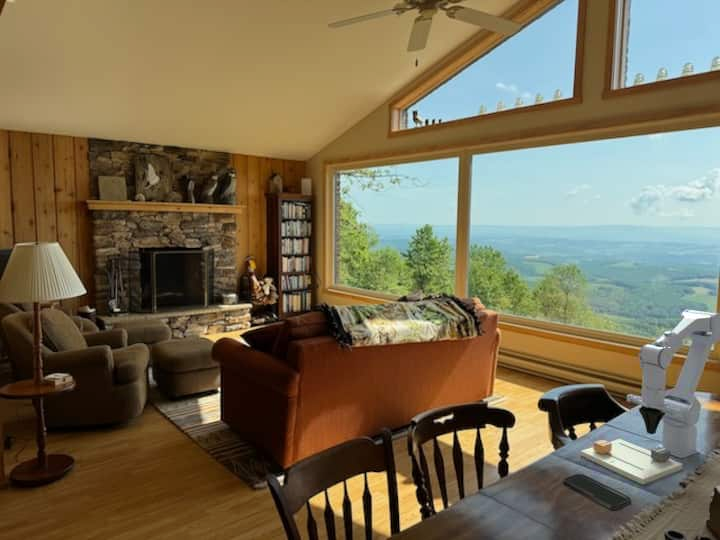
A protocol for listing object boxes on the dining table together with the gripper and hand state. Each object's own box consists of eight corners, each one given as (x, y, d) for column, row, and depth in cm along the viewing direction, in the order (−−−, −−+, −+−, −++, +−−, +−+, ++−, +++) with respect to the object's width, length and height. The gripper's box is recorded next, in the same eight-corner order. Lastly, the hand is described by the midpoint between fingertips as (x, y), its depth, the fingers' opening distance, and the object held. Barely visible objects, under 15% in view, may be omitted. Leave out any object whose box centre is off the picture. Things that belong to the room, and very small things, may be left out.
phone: (580, 472, 136) (633, 498, 123) (580, 476, 136) (632, 503, 123) (560, 479, 132) (612, 507, 119) (560, 483, 132) (612, 511, 119)
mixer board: (619, 443, 156) (619, 438, 156) (682, 469, 139) (682, 463, 139) (580, 455, 147) (580, 450, 147) (642, 484, 131) (642, 479, 131)
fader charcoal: (659, 454, 144) (659, 446, 144) (669, 459, 141) (670, 450, 141) (650, 457, 142) (651, 449, 142) (661, 462, 139) (661, 453, 139)
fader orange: (602, 447, 149) (602, 439, 149) (611, 451, 146) (611, 442, 146) (593, 450, 147) (593, 441, 147) (602, 454, 144) (602, 445, 144)
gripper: (621, 382, 147) (619, 426, 148) (671, 396, 134) (668, 445, 135) (635, 378, 150) (633, 422, 151) (686, 392, 137) (683, 440, 138)
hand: (651, 432), depth 143 cm, fingers closed
